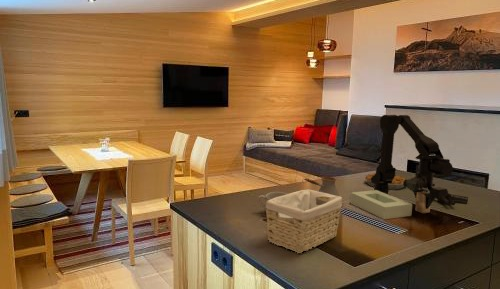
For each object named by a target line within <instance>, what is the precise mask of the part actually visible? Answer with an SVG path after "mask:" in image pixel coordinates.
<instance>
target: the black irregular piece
mask: <svg viewBox="0 0 500 289" xmlns="http://www.w3.org/2000/svg"><path fill="white" fill-rule="evenodd" d="M424 192H427V193H428V191H427V190H424ZM435 200H438V201H439V202H440V203H441V204H443V205H446V206H449V207H450V206H455V204H456V203H460V204H467V203H468V201H469V197H468V196H464V195H463V196H462V195H456V194H452V193H450V192H448V196H443V197H436V198H435Z"/></svg>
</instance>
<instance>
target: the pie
mask: <svg viewBox="0 0 500 289" xmlns="http://www.w3.org/2000/svg"><path fill="white" fill-rule="evenodd" d="M375 174H376V172H375V173H372V174H366V175H365V177H364V179H365V181H366V183H367V184H369V186H370V187H373V188H374V183H371V178H372V177H373V176H374V175H375ZM405 179H407V178H405V177H403V175H402V176H401V175H399V176H398V175H397V174H395V176H394V179H393V181H392V183H391V184H390V183H389V184H388V190H401V189H403V188H404V187H405V186H403V182H404V180H405Z"/></svg>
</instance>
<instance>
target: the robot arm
mask: <svg viewBox="0 0 500 289" xmlns="http://www.w3.org/2000/svg"><path fill="white" fill-rule="evenodd" d="M400 126H401V127H402V128H403V130H404V131H405V132H406V133H407V135H408V136H409V137H410V138H411V139H412V140H413V142H414V148H415V149H416V151H417V152H418V155H416V156H415V159H416V160H419V162H418V163H419V164H418V172H415V176H414V177H412V178H410V179H409V178H408V179H407V178H406V179H405V180H404V182H403V186H404V187H406V188H407V189H408V190H410V191H412V193H413V194H414V197H415V199H416V196H417V192H423V191H424V190H427V191H428V193H425V194H424V195H425V196H426V209H428V208H429V207H430V208H431V206H430V205H432V204H433V202H434V201H435V200H436V197H443V196H448V193H449V191H448V189H447V188H446V187H445V188H444V187H442V186H436V187H435V185H436V183H433V182H434V178H436V175H438V176H442V177H445V178H446V177H449V176H451V174H452V173H453V170H454V167H453V164H452V163H451V162H450V161H451V160H450V159H449V158H444V156H443V154H442V152H441V149H440V146H439V144H438V142H437V141H435V140H434V139H433V138H431V137H429V136H427V135H426V134H424V132H423V131H422V130H421V129H420V128H419V126H417V124H416V123H415V122H414V121H413V119H411V116H410V115H407V114H399V115H397V114H384V115H382V116H381V117H380V119H379V127H380V130H381V132H382V143H381V153H380V154H381V156H380V162H379V164H378V165H377V167H376V169H375V175H374V176H373V177H372V178H371V183H374V187H373V190H378V191H380V192H383V193H385V194H388V195H389V189H388V184H389V183H390V184H391V183H392V181H393V179H394V176H395V175H396V171H397V168H396V167H394V166H393V164H392V163H393V161H392V160H393V152H394V143H395V142H394V141H395V140H394V139H395V134H396V132H397V131H398V130H399V127H400Z"/></svg>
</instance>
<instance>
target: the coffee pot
mask: <svg viewBox="0 0 500 289" xmlns="http://www.w3.org/2000/svg"><path fill="white" fill-rule="evenodd" d="M304 180H305V183H310V184H313V185H315V186H319V190H318V192H323V193H327V194H331V195H335V196H340V195H339V191H338V189H337V187H336V184H335V183H336V181H337V178H336V177H332V176H322V177H321V180H322V181H321V182H322V183H318V182H316V181H314V180H313V179H312V180H311V179H309V178H303V179H302V181H301V182H302V183H304ZM325 203H327V202H325V201H322V200H318V199H316V205H322V204H325Z"/></svg>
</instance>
